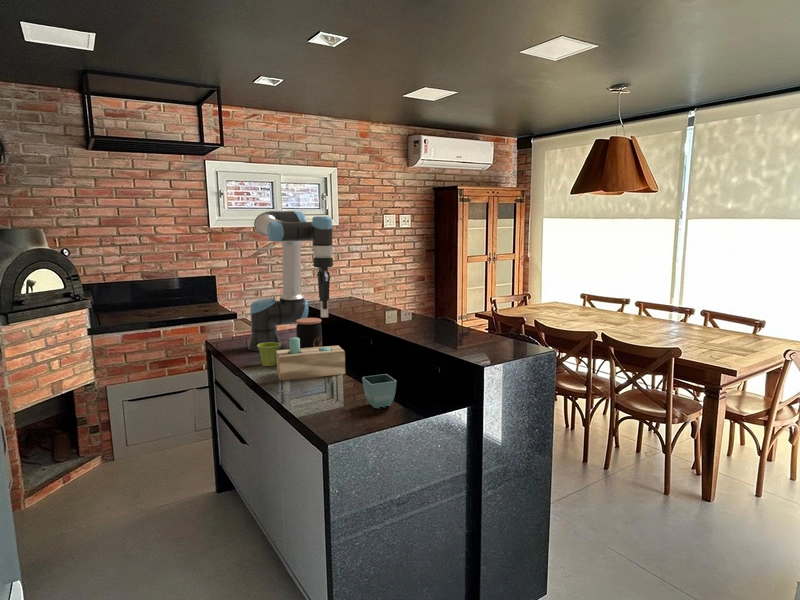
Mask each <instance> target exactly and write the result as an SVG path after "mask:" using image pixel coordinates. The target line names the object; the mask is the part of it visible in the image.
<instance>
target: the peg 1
mask: <svg viewBox="0 0 800 600" xmlns="http://www.w3.org/2000/svg"><path fill="white" fill-rule="evenodd" d="M288 341H289V343H288V344H289V346H288V347H289V349H288V350H290V354H300V338H298V337H297V336H295V337H289V339H288Z"/></svg>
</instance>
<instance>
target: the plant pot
mask: <svg viewBox="0 0 800 600" xmlns="http://www.w3.org/2000/svg"><path fill="white" fill-rule="evenodd" d="M279 346H280V343H275V342H268V343H260V344H258V345H257V347H258V349H259V351H258V352H259V355H260V361H261V365H262V366H263V367H274V366H277V359H276V351H278V350H280V348H279Z"/></svg>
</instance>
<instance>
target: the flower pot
mask: <svg viewBox="0 0 800 600" xmlns="http://www.w3.org/2000/svg"><path fill="white" fill-rule="evenodd" d="M361 378H362V379H361V381H362V386H363V392H364V395H365V398H366V400H367V402H368V403H369V404H370V406H372V407H373V409H375V408H377V409H381V408H380V407H383V408H387V407H386V406H389V407H390V406H391V405H392V403H393V401H394V399H395V395H396V389H397V380H396V379H394V378H393V377H392V376H390V375H389V374H388V373H384V374H382V373H381V374H376V375H367V376H363V377H361Z"/></svg>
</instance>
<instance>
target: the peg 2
mask: <svg viewBox="0 0 800 600" xmlns="http://www.w3.org/2000/svg"><path fill="white" fill-rule="evenodd" d="M322 347H323V348H320V352H323V351H331V348H329V347H326V346H322Z"/></svg>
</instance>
